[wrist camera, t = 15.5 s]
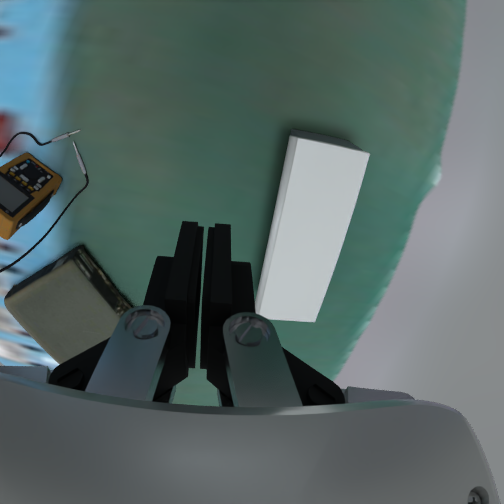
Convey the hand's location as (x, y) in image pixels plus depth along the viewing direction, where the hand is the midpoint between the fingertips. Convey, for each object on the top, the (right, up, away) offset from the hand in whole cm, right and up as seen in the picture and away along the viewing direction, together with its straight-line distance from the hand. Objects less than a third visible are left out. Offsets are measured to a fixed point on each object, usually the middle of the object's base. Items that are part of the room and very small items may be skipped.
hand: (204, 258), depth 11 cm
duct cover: (+8, +2, +26) cm, 28 cm away
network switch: (-28, -10, +38) cm, 48 cm away
